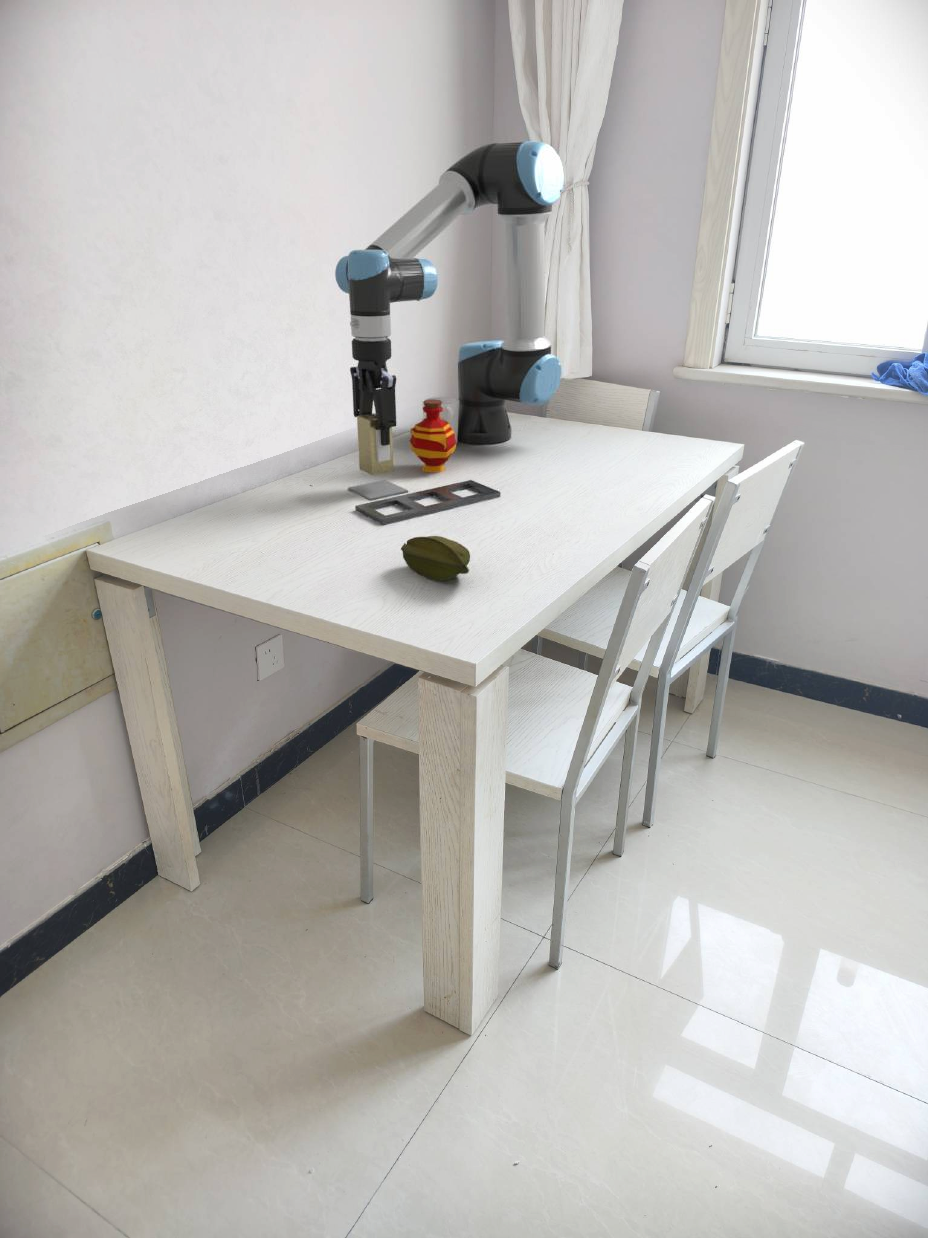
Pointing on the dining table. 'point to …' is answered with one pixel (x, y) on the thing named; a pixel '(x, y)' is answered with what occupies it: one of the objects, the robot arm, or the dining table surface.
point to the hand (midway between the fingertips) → (376, 456)
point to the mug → (448, 412)
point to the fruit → (436, 557)
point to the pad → (378, 489)
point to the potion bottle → (433, 438)
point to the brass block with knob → (371, 446)
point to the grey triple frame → (419, 509)
